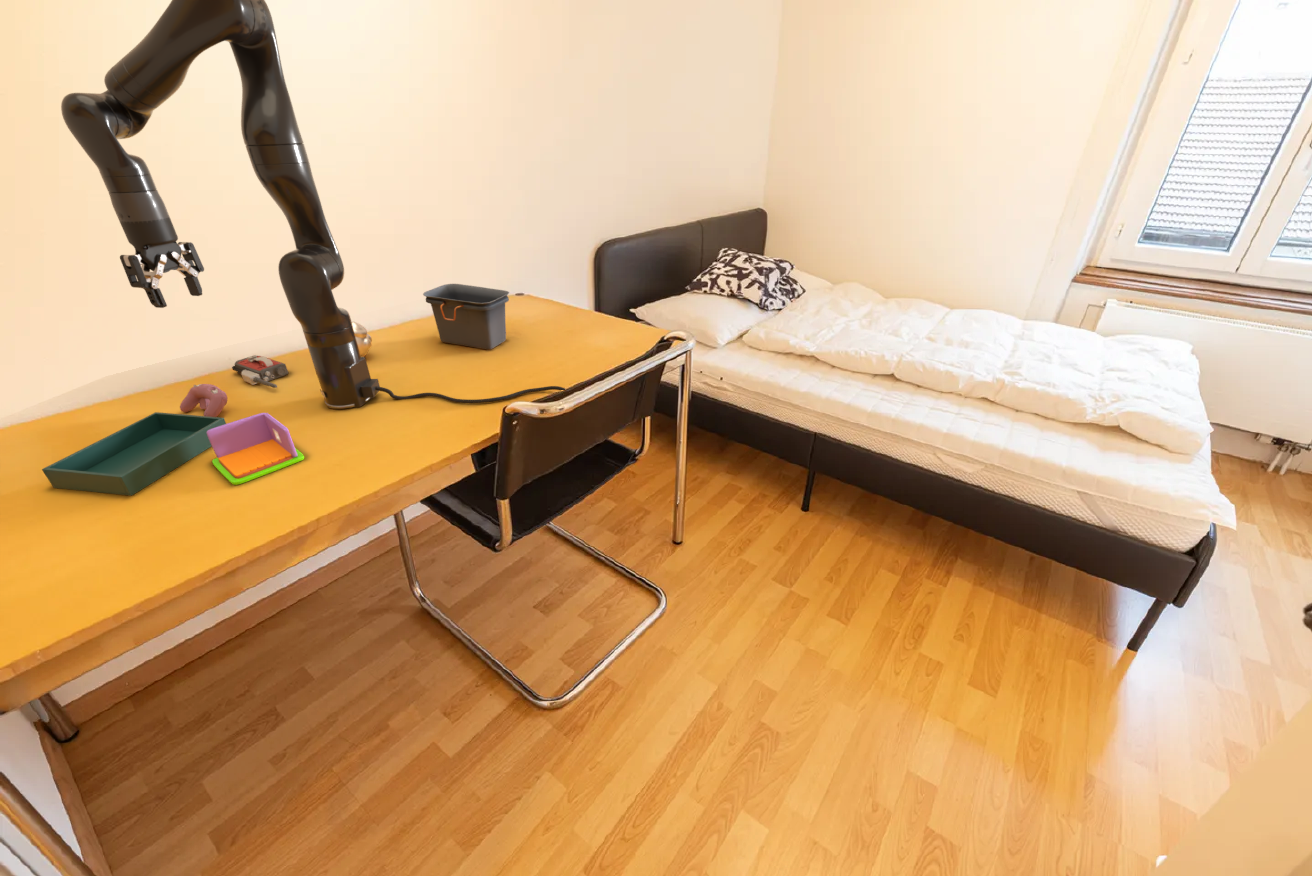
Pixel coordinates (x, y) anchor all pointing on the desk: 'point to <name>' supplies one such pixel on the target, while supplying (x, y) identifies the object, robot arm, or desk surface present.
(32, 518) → the desk surface
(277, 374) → the walkie-talkie
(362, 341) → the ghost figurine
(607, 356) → the desk surface
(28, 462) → the desk surface
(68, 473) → the tray
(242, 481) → the dollhouse room
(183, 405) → the video game controller
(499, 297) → the storage bin
